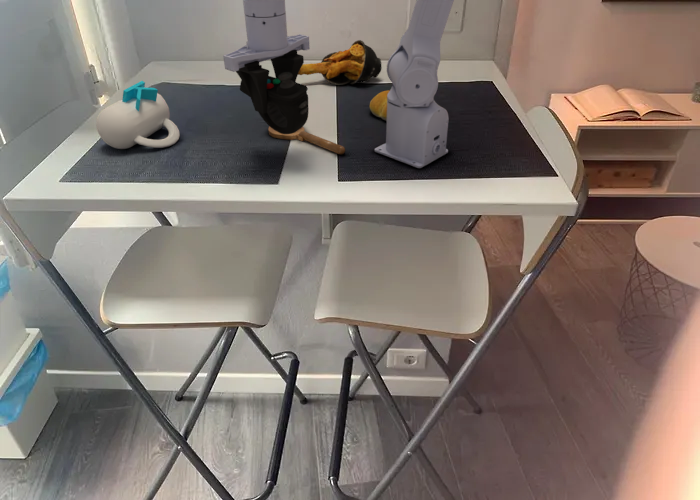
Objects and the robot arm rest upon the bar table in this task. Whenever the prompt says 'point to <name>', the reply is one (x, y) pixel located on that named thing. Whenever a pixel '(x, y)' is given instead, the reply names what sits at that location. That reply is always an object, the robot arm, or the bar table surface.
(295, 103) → the controller
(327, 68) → the fried shrimp in bowl
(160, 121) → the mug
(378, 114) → the bread roll
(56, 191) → the bar table surface
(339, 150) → the spoon
